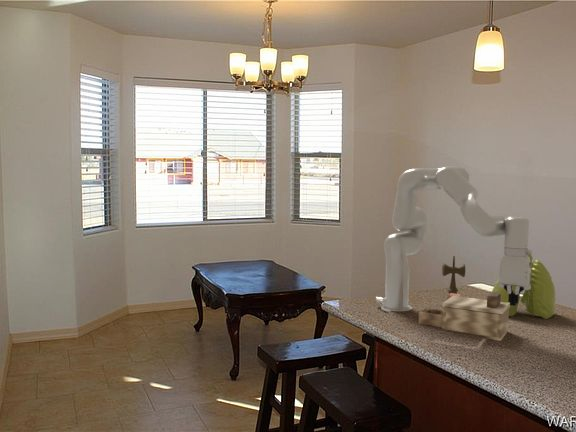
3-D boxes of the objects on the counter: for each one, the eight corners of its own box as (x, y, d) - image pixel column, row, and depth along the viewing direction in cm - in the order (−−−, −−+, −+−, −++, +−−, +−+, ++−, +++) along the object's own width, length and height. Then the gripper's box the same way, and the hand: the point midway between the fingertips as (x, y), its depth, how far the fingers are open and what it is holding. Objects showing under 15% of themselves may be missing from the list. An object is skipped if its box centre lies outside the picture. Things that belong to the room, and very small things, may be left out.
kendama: (464, 302, 250) (466, 257, 248) (442, 301, 251) (443, 256, 250) (462, 299, 256) (464, 255, 254) (440, 298, 257) (441, 254, 255)
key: (446, 320, 221) (447, 295, 220) (449, 318, 224) (450, 293, 223) (457, 322, 219) (458, 296, 218) (460, 319, 222) (460, 294, 222)
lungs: (549, 310, 239) (552, 252, 236) (558, 320, 224) (562, 258, 221) (486, 306, 244) (488, 250, 242) (491, 316, 229) (493, 256, 227)
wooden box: (416, 327, 211) (417, 303, 210) (427, 319, 222) (428, 296, 222) (500, 340, 196) (501, 315, 195) (507, 331, 207) (508, 307, 206)
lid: (442, 306, 205) (442, 291, 205) (452, 298, 217) (453, 285, 216) (502, 314, 195) (502, 299, 194) (509, 306, 206) (510, 292, 206)
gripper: (540, 253, 197) (538, 305, 199) (495, 249, 205) (493, 299, 206) (537, 256, 191) (534, 310, 192) (490, 252, 198) (488, 304, 200)
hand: (513, 304), depth 199 cm, fingers closed
